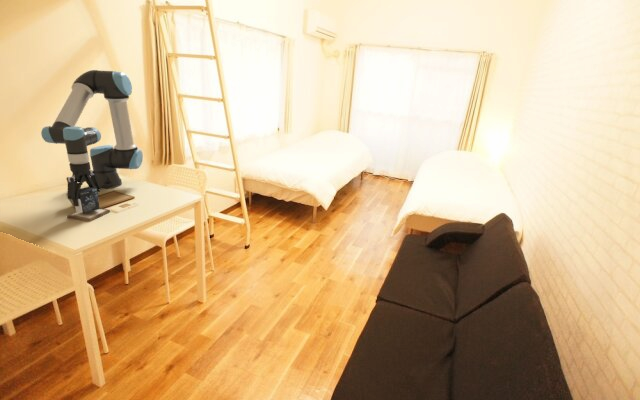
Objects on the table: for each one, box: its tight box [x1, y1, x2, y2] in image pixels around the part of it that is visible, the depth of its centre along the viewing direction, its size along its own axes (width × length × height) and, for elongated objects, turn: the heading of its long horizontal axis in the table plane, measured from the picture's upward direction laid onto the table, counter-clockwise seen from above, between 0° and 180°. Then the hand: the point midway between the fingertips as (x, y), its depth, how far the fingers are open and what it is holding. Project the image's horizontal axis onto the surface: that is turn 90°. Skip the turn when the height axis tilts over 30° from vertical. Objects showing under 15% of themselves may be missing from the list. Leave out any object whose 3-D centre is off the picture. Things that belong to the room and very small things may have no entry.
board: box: [66, 207, 111, 222], centre depth 158 cm, size 12×12×1 cm
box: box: [78, 186, 101, 214], centre depth 156 cm, size 8×6×11 cm
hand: (88, 208), depth 157 cm, fingers closed on box, 9 cm apart
